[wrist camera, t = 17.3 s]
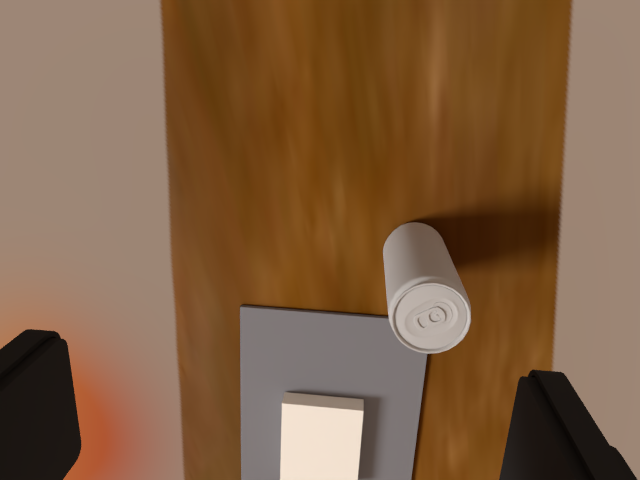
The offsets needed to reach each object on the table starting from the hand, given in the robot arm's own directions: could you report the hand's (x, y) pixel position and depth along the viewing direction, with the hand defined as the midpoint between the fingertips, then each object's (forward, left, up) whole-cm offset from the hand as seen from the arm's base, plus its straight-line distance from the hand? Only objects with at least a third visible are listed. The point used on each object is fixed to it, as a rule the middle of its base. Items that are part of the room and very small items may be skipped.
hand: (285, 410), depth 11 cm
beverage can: (+7, +6, -30) cm, 32 cm away
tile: (+21, -1, -29) cm, 36 cm away
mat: (+23, 0, -30) cm, 38 cm away
